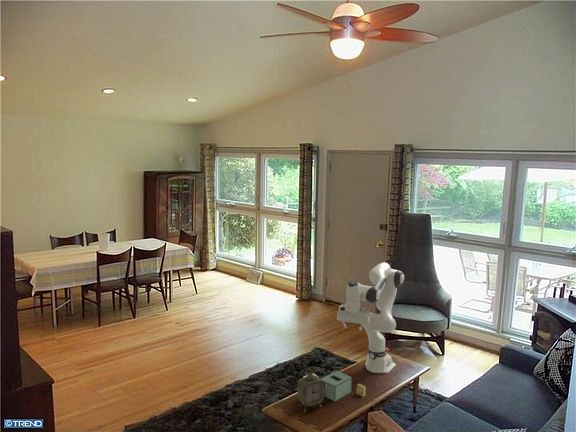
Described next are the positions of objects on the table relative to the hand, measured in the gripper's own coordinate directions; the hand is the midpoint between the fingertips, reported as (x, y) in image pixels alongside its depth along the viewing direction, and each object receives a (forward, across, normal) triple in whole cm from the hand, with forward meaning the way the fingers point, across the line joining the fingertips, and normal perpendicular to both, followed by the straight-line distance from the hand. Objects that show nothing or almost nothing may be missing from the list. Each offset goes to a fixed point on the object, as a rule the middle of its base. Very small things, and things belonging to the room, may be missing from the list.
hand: (352, 329), depth 285 cm
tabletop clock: (+39, +17, +32) cm, 53 cm away
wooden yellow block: (+38, -8, +7) cm, 40 cm away
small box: (+39, +20, +20) cm, 49 cm away
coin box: (+39, +7, +11) cm, 41 cm away
